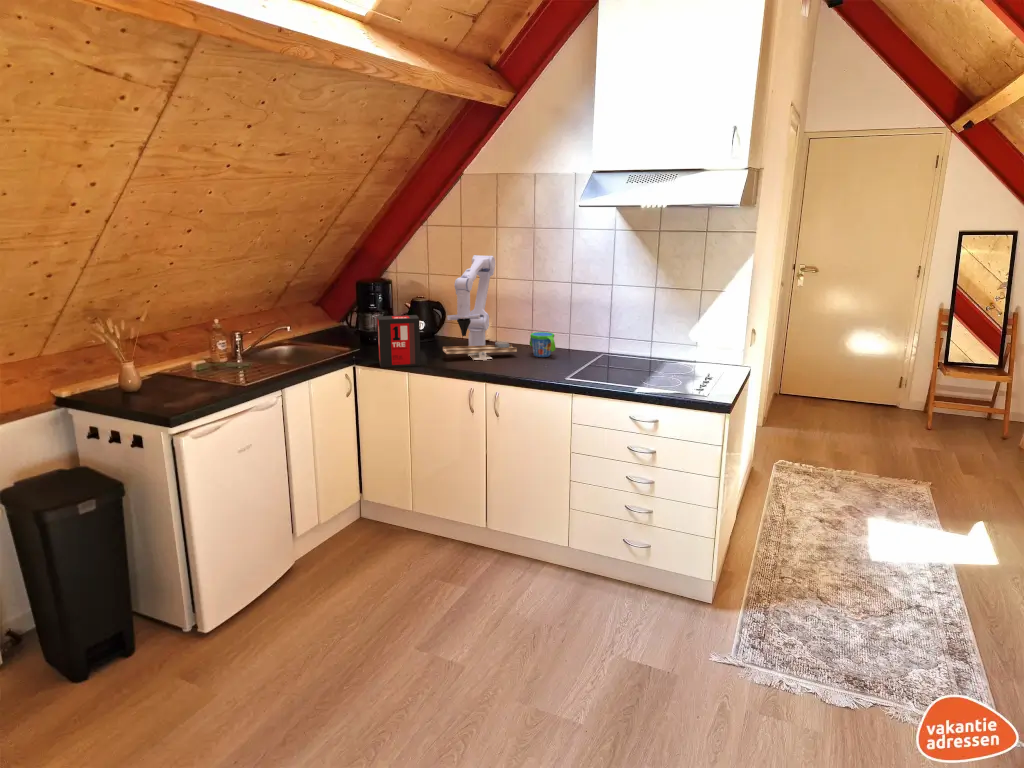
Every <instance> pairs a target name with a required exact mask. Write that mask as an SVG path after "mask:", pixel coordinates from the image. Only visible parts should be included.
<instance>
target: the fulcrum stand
mask: <svg viewBox="0 0 1024 768" xmlns="http://www.w3.org/2000/svg"><path fill="white" fill-rule="evenodd" d="M469 356H470V357H471V358H472V359H471V358H470V357H469ZM467 357H469V358H470V359H471V360H473V361H474V360H483V361H488V360H487V359H492V360H493V357H491V356H490V355H489V354H487V353H486V352H485V353H484V352H482V353H467Z"/></svg>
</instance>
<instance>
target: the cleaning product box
mask: <svg viewBox="0 0 1024 768" xmlns="http://www.w3.org/2000/svg"><path fill="white" fill-rule="evenodd" d="M376 319H377V337H378V338H377V339H378V342H377V343H378V344H377V345H378V363H379V366H380V368H394V367H395V368H396V367H397V368H398V367H412V366H413V367H414V366H421V336H420V333H421V332H420V327H421V326H420V317H419V316H418V315H417V314H411V315H409V314H407V315H381V316H380V315H378V316H377V317H376Z"/></svg>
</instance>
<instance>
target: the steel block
mask: <svg viewBox="0 0 1024 768" xmlns="http://www.w3.org/2000/svg"><path fill="white" fill-rule="evenodd" d="M494 344H495V348H509V345H510V343H509V342H507V341H495V342H494Z"/></svg>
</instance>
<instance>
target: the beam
mask: <svg viewBox="0 0 1024 768" xmlns="http://www.w3.org/2000/svg"><path fill="white" fill-rule="evenodd" d="M442 351H443V352H444V354H446V355H456V354H457V355H459V354H474V353H482V352H484V353H485V352H486V354H487V353H490V354H491V353H517V352H518V348H517V347H513V344H509V348H495V345H494V344H492V345H491V344H490V345H489V344H487V345H486V344H485V345H484V346H469V345H459V346H457V345H456V346H454V345H453V346H452V345H451V346H442Z"/></svg>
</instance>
